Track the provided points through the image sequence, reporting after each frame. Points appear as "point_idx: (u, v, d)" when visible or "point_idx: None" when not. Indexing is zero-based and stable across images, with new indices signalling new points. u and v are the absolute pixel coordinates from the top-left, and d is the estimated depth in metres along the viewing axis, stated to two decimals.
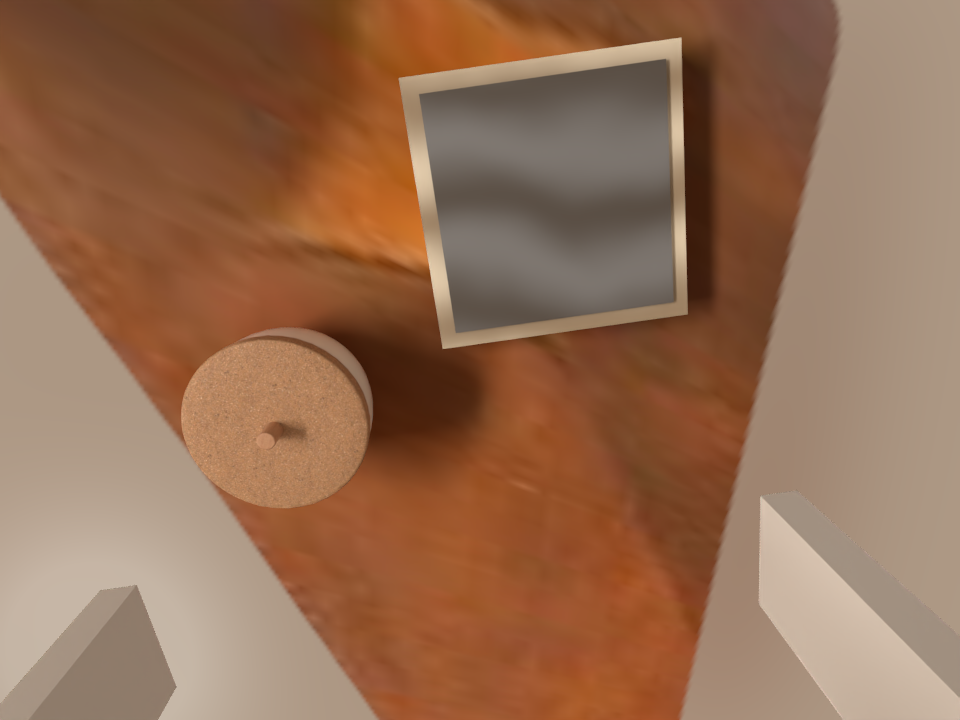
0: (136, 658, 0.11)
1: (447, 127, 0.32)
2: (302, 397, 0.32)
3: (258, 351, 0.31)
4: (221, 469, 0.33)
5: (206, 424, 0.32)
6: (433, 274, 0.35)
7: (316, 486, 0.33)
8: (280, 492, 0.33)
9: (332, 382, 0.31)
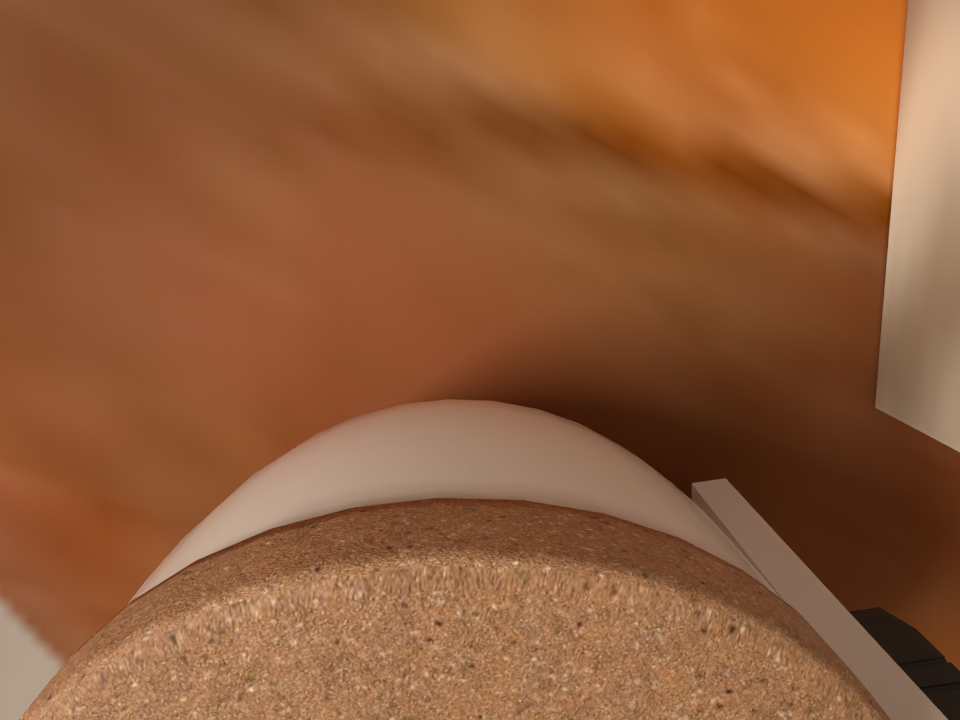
0: None
1: None
2: None
3: (404, 633, 0.05)
4: None
5: None
6: None
7: None
8: None
9: None
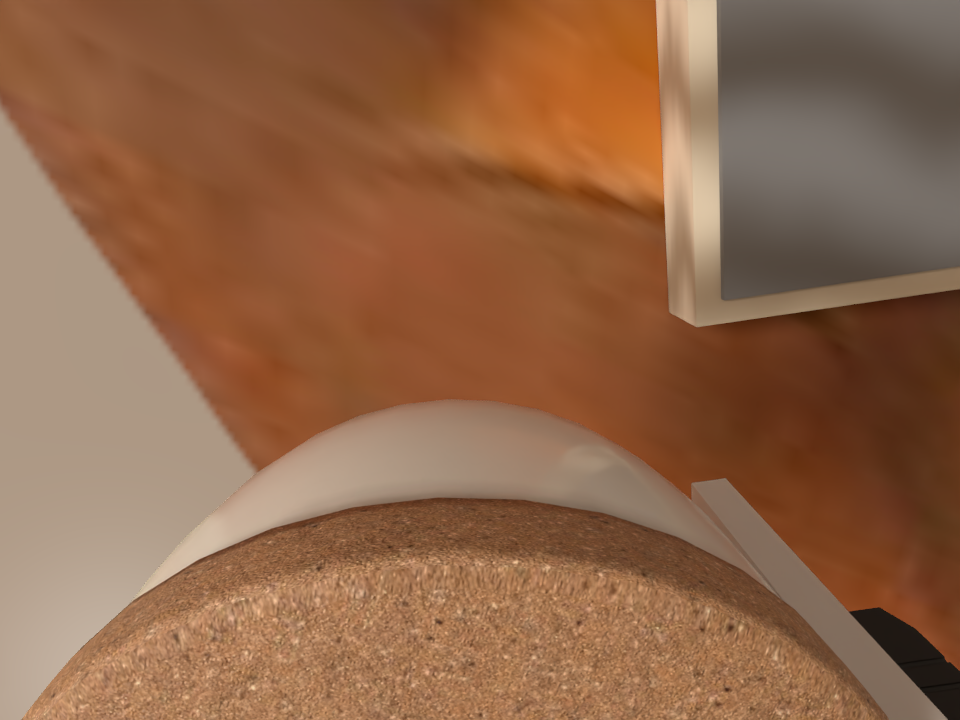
0: None
1: None
2: None
3: (404, 632, 0.05)
4: None
5: None
6: (698, 201, 0.21)
7: None
8: None
9: None
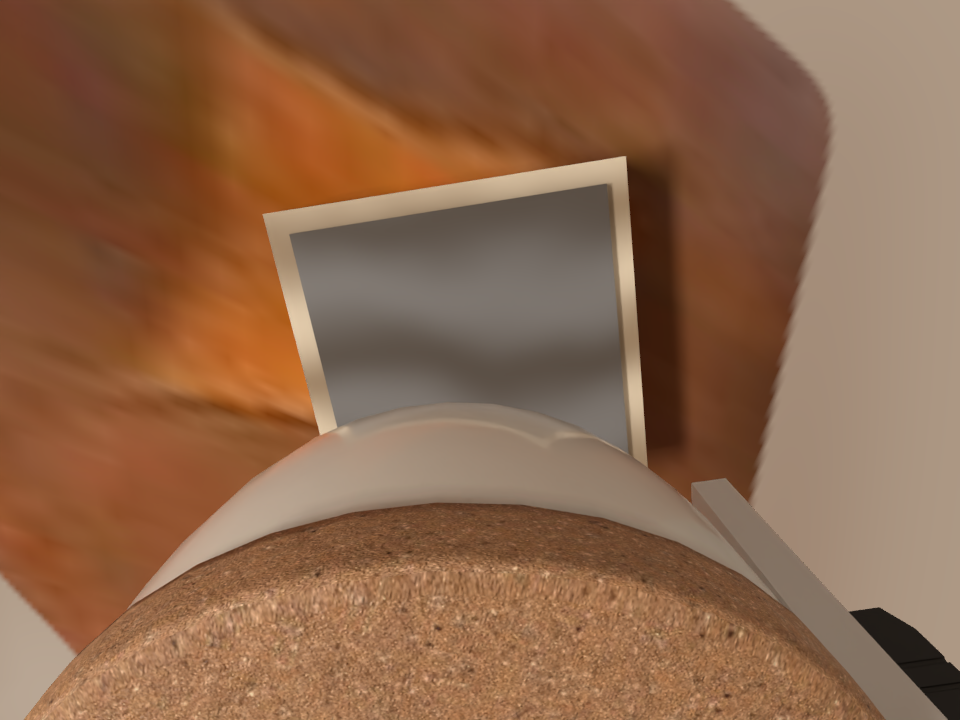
0: None
1: (329, 273, 0.25)
2: None
3: (403, 639, 0.05)
4: None
5: None
6: None
7: None
8: None
9: None
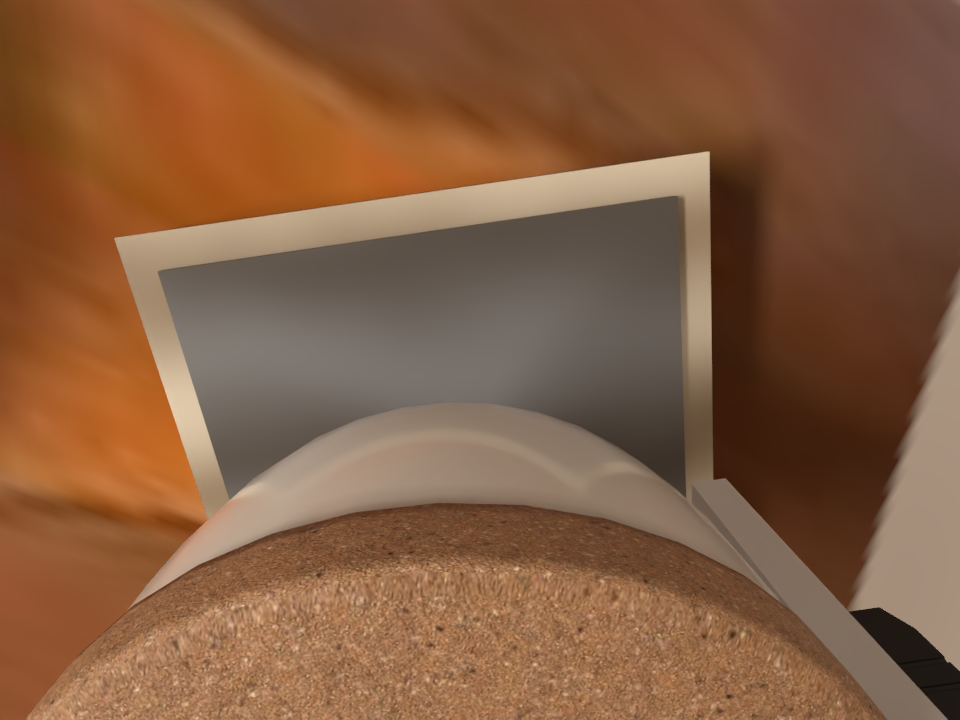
0: None
1: (226, 333, 0.15)
2: None
3: (404, 640, 0.05)
4: None
5: None
6: None
7: None
8: None
9: None
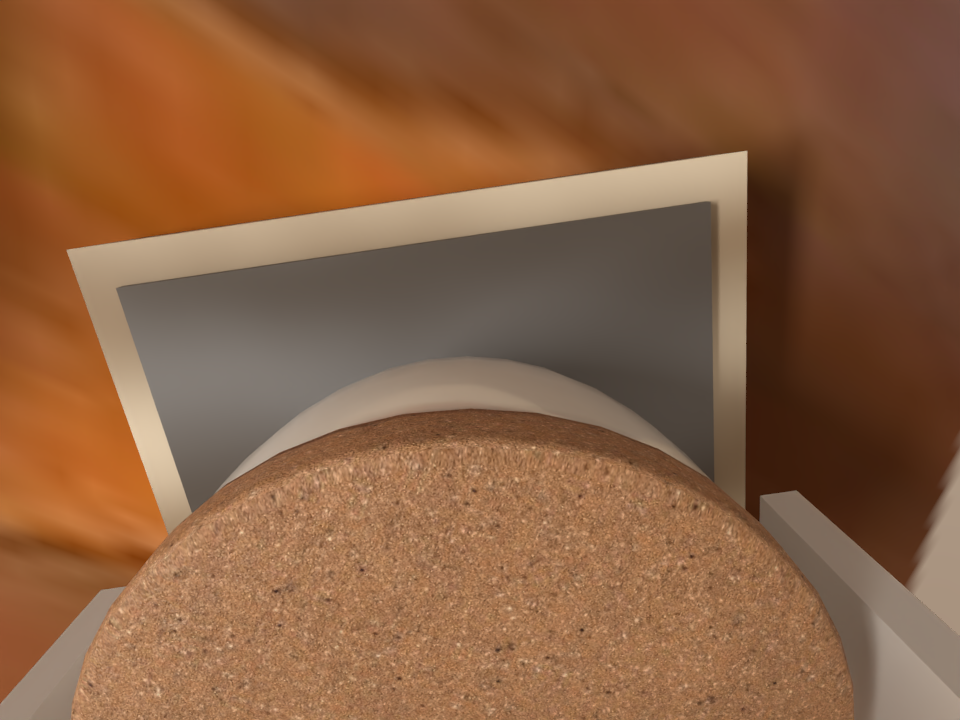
0: None
1: (195, 358, 0.14)
2: (620, 696, 0.07)
3: (448, 498, 0.06)
4: None
5: None
6: None
7: None
8: None
9: (766, 636, 0.07)
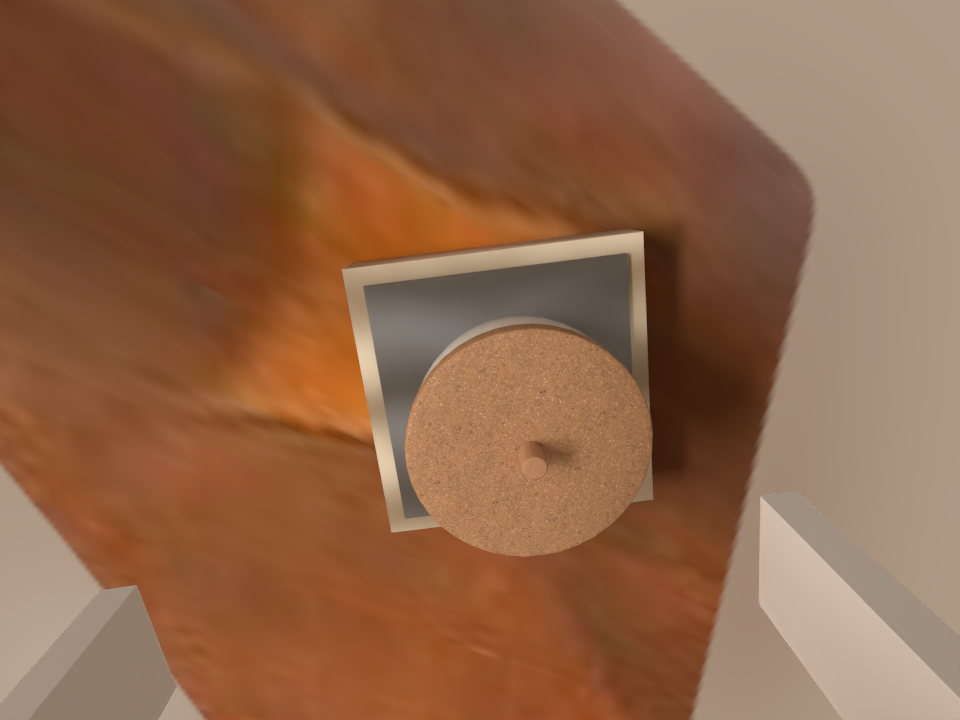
0: (136, 658, 0.11)
1: (394, 319, 0.30)
2: (576, 410, 0.23)
3: (529, 344, 0.22)
4: (450, 501, 0.24)
5: (441, 440, 0.23)
6: (381, 459, 0.32)
7: (570, 530, 0.25)
8: (521, 535, 0.25)
9: (619, 391, 0.23)
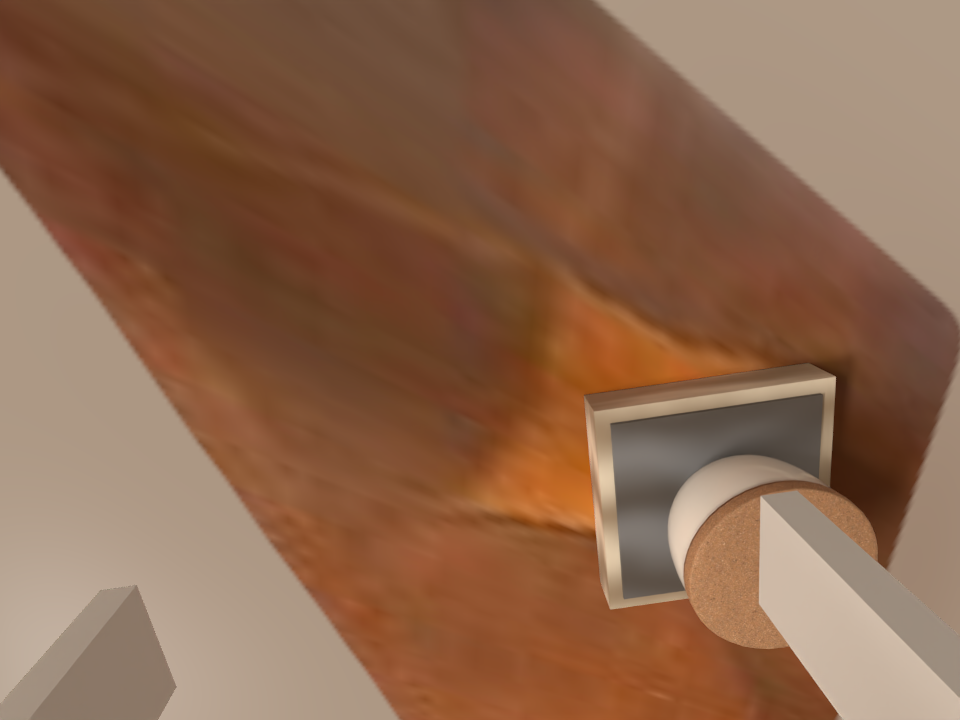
0: (136, 658, 0.11)
1: (632, 448, 0.37)
2: None
3: None
4: (720, 611, 0.32)
5: (720, 569, 0.31)
6: (608, 553, 0.40)
7: None
8: (770, 634, 0.32)
9: (858, 531, 0.30)
